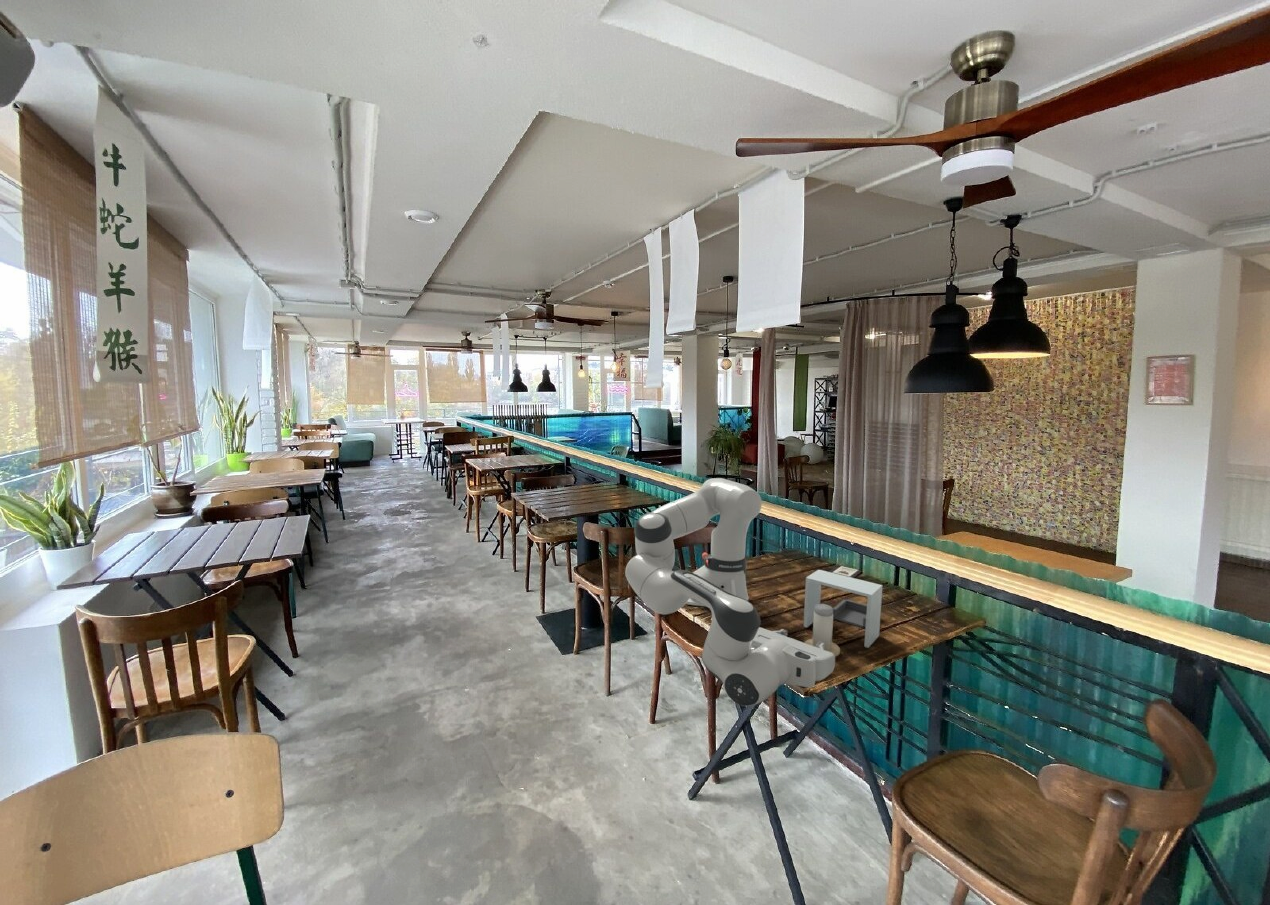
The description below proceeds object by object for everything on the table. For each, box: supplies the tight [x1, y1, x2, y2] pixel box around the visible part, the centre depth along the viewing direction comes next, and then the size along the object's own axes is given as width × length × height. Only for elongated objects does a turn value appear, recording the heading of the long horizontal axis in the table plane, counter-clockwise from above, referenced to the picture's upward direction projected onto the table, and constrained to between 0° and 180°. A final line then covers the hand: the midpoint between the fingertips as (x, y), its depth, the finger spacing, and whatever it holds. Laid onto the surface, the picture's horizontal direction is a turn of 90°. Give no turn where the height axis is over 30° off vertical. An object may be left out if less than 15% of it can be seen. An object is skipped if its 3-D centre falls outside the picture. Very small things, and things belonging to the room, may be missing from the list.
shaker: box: [812, 603, 834, 651], centre depth 134 cm, size 5×5×11 cm
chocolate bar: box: [828, 565, 863, 579], centre depth 188 cm, size 9×1×18 cm
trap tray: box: [832, 598, 867, 629], centre depth 153 cm, size 10×10×3 cm
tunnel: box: [803, 569, 883, 648], centre depth 144 cm, size 9×18×15 cm, turn 48°
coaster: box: [803, 638, 841, 658], centre depth 135 cm, size 9×9×1 cm
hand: (802, 638), depth 125 cm, fingers open, 8 cm apart
